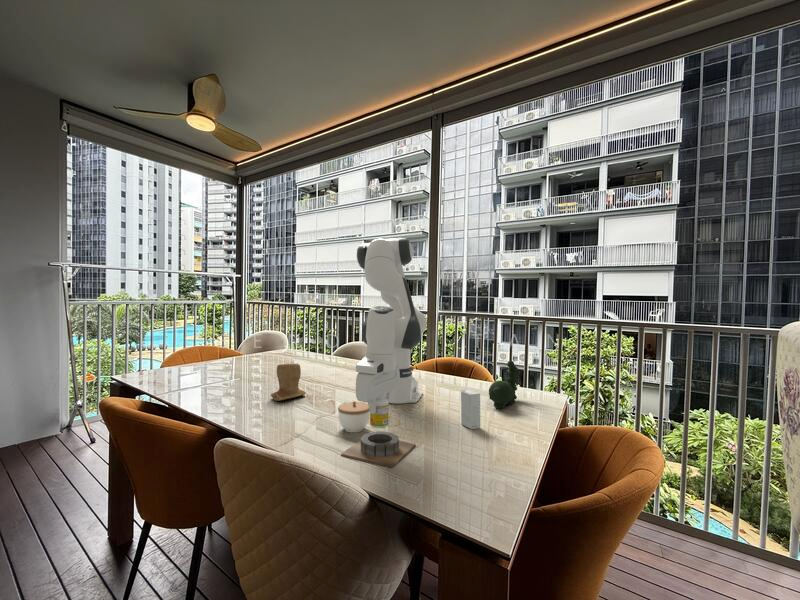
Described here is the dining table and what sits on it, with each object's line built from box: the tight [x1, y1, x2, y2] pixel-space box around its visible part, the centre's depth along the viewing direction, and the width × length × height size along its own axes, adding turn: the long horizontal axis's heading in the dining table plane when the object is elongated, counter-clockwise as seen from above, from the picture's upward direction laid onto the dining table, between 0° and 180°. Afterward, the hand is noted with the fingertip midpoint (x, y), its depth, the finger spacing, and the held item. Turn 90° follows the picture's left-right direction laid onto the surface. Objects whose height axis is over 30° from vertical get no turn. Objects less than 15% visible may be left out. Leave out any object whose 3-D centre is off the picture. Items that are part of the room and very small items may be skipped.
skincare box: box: [460, 389, 481, 430], centre depth 131 cm, size 6×4×12 cm
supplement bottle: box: [369, 393, 390, 429], centre depth 109 cm, size 5×5×10 cm
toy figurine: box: [488, 360, 519, 410], centre depth 157 cm, size 9×19×25 cm
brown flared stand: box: [270, 363, 307, 402], centre depth 162 cm, size 15×12×15 cm
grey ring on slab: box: [340, 430, 417, 469], centre depth 109 cm, size 16×16×4 cm
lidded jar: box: [337, 400, 370, 433], centre depth 126 cm, size 11×11×9 cm
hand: (379, 409), depth 109 cm, fingers closed on supplement bottle, 5 cm apart
